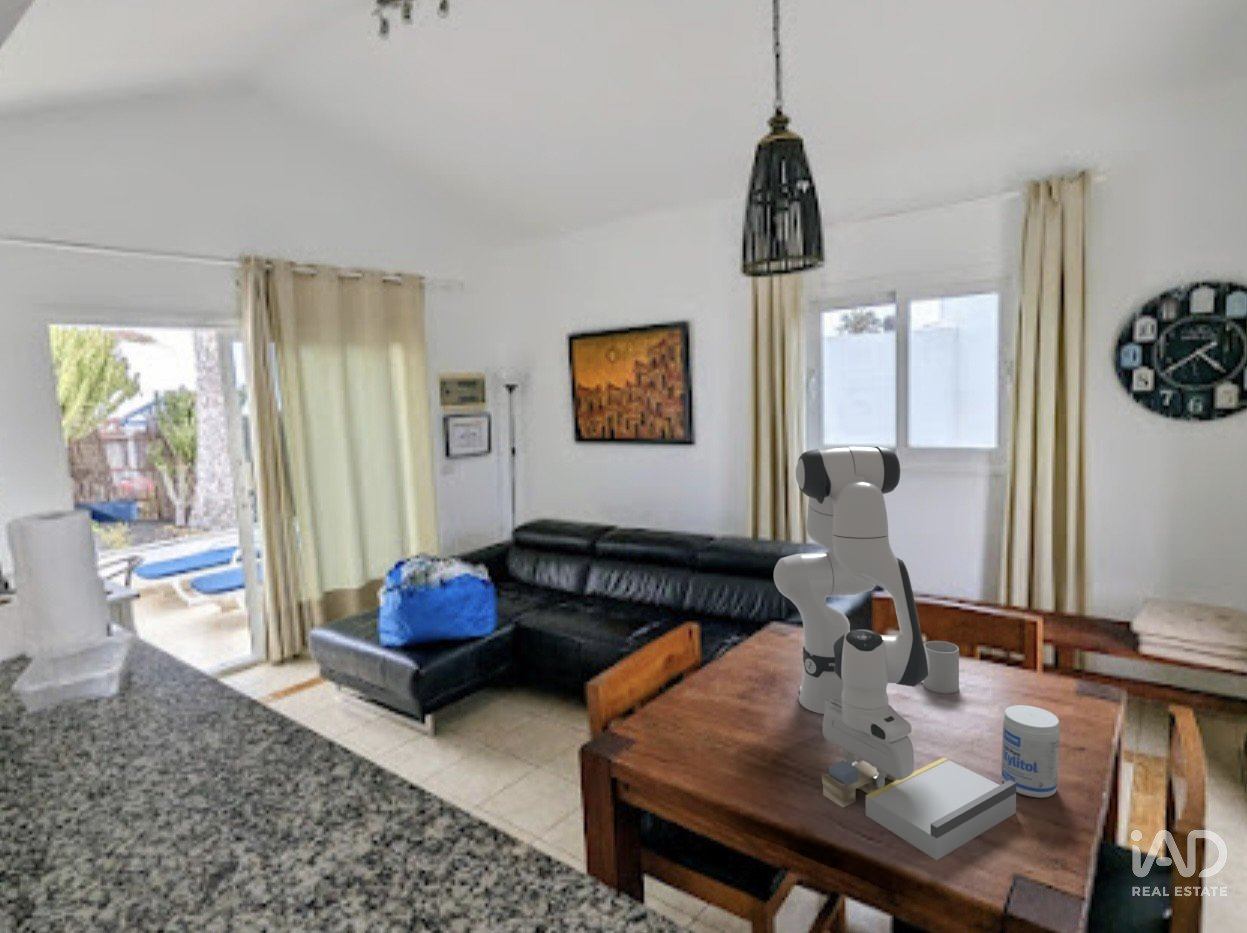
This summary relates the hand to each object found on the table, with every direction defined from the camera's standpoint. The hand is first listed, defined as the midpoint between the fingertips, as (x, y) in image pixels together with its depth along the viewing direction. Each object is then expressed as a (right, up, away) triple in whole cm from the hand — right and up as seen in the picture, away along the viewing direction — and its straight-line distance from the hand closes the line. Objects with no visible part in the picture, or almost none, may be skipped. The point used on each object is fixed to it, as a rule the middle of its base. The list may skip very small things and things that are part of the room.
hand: (865, 778), depth 139 cm
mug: (+34, +5, +43) cm, 55 cm away
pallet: (0, -2, 0) cm, 2 cm away
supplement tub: (+32, -1, -3) cm, 32 cm away
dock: (+11, -2, -10) cm, 15 cm away
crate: (-6, +1, -3) cm, 7 cm away
